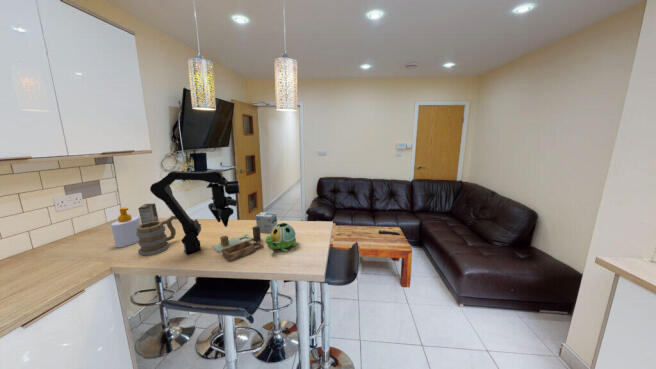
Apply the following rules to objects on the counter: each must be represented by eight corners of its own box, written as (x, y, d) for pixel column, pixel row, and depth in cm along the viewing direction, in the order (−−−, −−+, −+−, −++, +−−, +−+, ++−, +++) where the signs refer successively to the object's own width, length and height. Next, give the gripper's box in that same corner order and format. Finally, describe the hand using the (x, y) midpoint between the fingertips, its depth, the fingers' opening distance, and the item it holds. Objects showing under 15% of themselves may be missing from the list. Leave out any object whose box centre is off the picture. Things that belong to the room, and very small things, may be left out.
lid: (218, 252, 121) (216, 242, 120) (212, 247, 127) (210, 237, 126) (253, 240, 134) (252, 231, 133) (246, 235, 140) (245, 227, 139)
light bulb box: (278, 229, 148) (276, 212, 146) (272, 233, 142) (271, 216, 139) (262, 228, 151) (261, 211, 149) (256, 232, 145) (255, 215, 142)
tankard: (146, 257, 118) (140, 229, 115) (135, 251, 125) (129, 224, 122) (187, 241, 135) (183, 216, 131) (176, 237, 141) (171, 212, 138)
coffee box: (148, 227, 157) (143, 204, 154) (160, 226, 159) (155, 202, 156) (143, 233, 149) (137, 208, 145) (155, 231, 151) (150, 206, 147)
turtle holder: (258, 252, 120) (256, 230, 118) (285, 238, 135) (283, 218, 132) (275, 259, 113) (273, 235, 111) (301, 244, 128) (300, 223, 125)
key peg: (256, 242, 131) (254, 228, 130) (253, 240, 133) (252, 227, 132) (260, 240, 133) (259, 227, 131) (258, 239, 135) (257, 225, 133)
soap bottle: (122, 248, 129) (113, 212, 124) (112, 246, 131) (103, 211, 127) (147, 238, 141) (140, 205, 136) (137, 236, 144) (130, 204, 139)
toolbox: (229, 261, 112) (228, 255, 111) (222, 256, 118) (221, 249, 117) (264, 248, 124) (264, 241, 124) (257, 243, 130) (256, 237, 129)
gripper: (242, 195, 120) (245, 224, 124) (227, 189, 134) (230, 216, 137) (219, 199, 113) (223, 230, 116) (206, 193, 126) (210, 221, 130)
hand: (222, 224), depth 125 cm, fingers open, 9 cm apart
